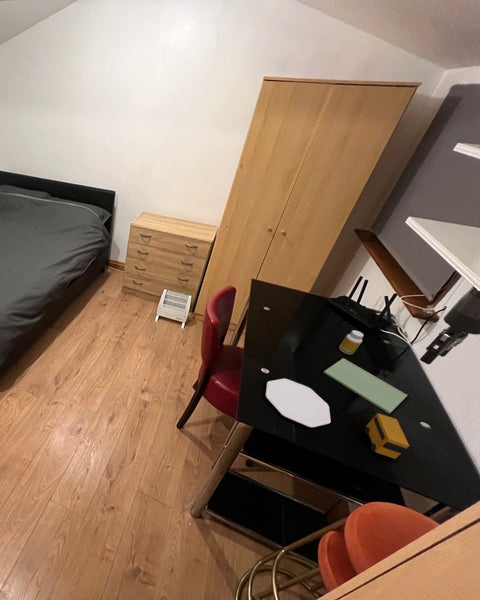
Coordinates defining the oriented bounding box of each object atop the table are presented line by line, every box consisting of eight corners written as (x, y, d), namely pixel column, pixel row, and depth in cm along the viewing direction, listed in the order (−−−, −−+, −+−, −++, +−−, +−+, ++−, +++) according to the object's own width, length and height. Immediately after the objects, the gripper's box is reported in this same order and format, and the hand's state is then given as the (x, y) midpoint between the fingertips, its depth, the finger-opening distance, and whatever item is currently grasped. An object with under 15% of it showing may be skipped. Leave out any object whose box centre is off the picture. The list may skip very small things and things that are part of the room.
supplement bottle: (351, 356, 136) (364, 339, 131) (337, 349, 140) (348, 332, 134) (354, 351, 139) (367, 334, 134) (340, 344, 143) (352, 327, 137)
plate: (326, 397, 116) (328, 394, 115) (330, 438, 102) (332, 436, 101) (266, 374, 124) (268, 371, 123) (262, 410, 109) (264, 407, 108)
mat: (406, 396, 119) (407, 395, 119) (389, 414, 112) (390, 412, 111) (342, 359, 134) (343, 358, 134) (323, 372, 127) (324, 371, 127)
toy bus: (363, 428, 106) (377, 412, 102) (382, 434, 104) (397, 419, 100) (373, 455, 98) (388, 439, 94) (393, 462, 96) (410, 447, 92)
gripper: (483, 326, 76) (436, 374, 85) (506, 314, 82) (460, 360, 91) (443, 309, 82) (403, 355, 91) (467, 299, 87) (427, 344, 96)
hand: (431, 358), depth 91 cm, fingers open, 8 cm apart
